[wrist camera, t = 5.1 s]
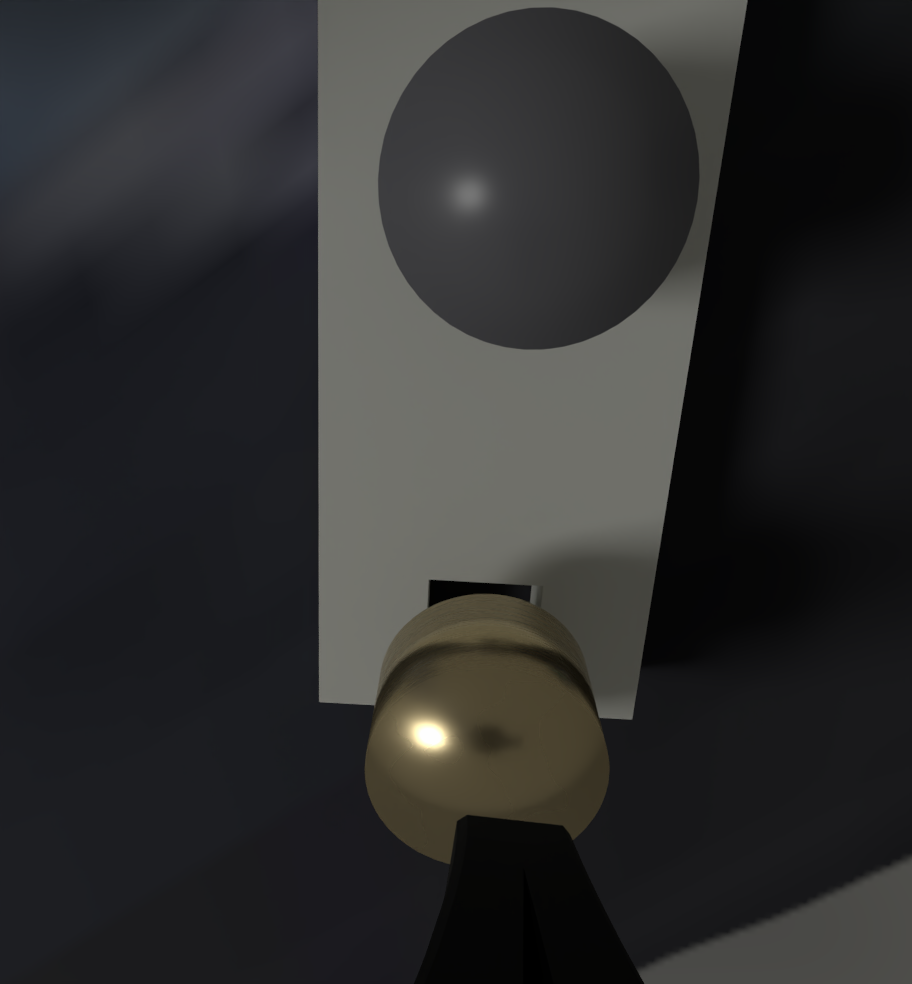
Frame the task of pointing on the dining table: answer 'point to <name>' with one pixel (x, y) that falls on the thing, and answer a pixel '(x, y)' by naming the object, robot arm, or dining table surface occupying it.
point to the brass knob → (484, 724)
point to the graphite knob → (538, 178)
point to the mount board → (491, 379)
